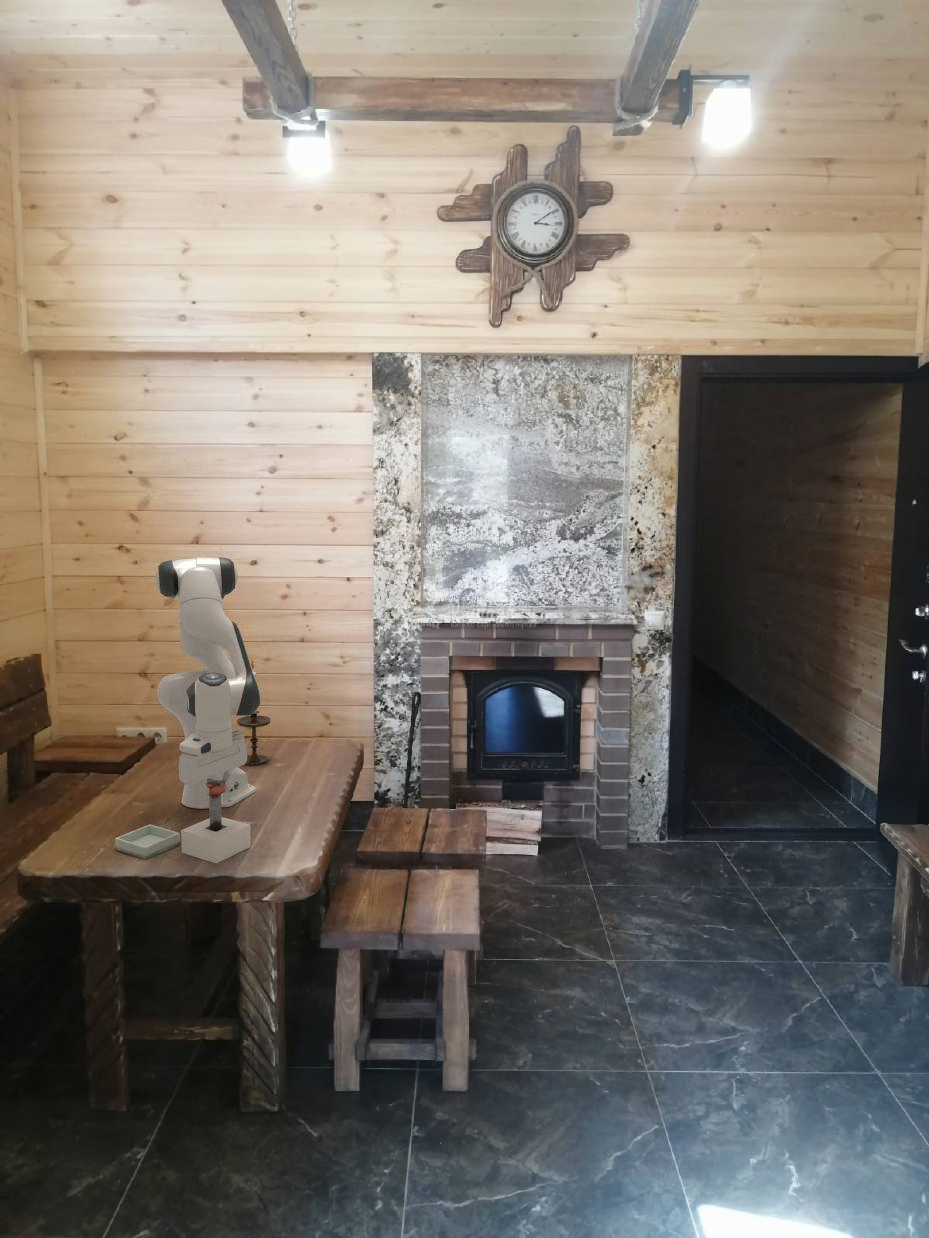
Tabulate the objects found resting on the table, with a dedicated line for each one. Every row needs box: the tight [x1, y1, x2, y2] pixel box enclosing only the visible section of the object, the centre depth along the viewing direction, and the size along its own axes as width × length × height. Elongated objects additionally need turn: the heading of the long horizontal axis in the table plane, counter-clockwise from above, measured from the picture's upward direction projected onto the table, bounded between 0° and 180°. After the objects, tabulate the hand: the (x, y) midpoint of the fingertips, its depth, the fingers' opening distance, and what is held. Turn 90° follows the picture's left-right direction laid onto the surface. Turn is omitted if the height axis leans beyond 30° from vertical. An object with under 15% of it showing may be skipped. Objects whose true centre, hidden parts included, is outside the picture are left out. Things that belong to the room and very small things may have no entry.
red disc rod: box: [205, 778, 226, 832], centre depth 226 cm, size 5×5×14 cm
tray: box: [114, 824, 181, 860], centre depth 228 cm, size 11×11×3 cm
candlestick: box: [236, 660, 271, 767], centre depth 296 cm, size 11×11×35 cm
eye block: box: [180, 816, 252, 865], centre depth 227 cm, size 12×12×6 cm
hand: (215, 790), depth 225 cm, fingers closed on red disc rod, 5 cm apart
